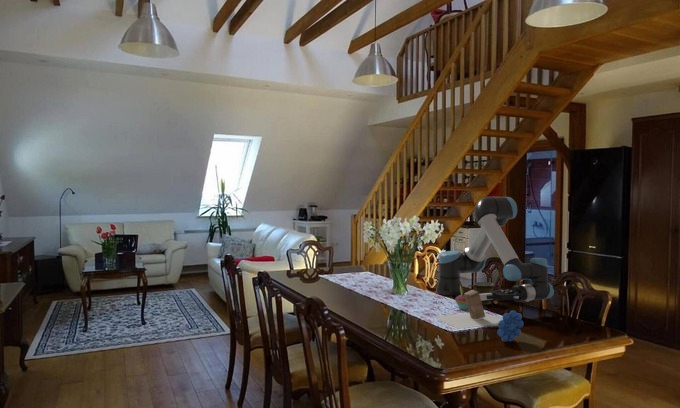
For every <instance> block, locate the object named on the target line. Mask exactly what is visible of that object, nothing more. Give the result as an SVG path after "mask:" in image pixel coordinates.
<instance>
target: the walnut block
mask: <svg viewBox="0 0 680 408" xmlns="http://www.w3.org/2000/svg"><path fill="white" fill-rule="evenodd" d="M469 290H470V291H469ZM469 290H468V291H467V292H463V295H465V299H466V303H467V306H468V309H467V310H468V313H470V317H471V318H472V319H475V320H477V321H478V320H480V319H482V318H484V317H485V313H486V312H485V309H484V306H483V305H482V302H481V299H480V295H479V292H477V291H475V290H474V289H469Z"/></svg>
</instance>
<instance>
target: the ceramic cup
mask: <svg viewBox="0 0 680 408" xmlns="http://www.w3.org/2000/svg"><path fill="white" fill-rule="evenodd" d="M469 287H472V288H473V290H474V291H477V292H479V294H484V293H488V292H489V291H494V287H495V286H494V283H492V282H488V281H487V282H485V281H477V282H474V283H473V285H472V284H469V285H468V286H467V289H468V291H470V290H471V289H470V288H469ZM481 302H482V306H483V305H491V303H492V300H483V301H481Z"/></svg>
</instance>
